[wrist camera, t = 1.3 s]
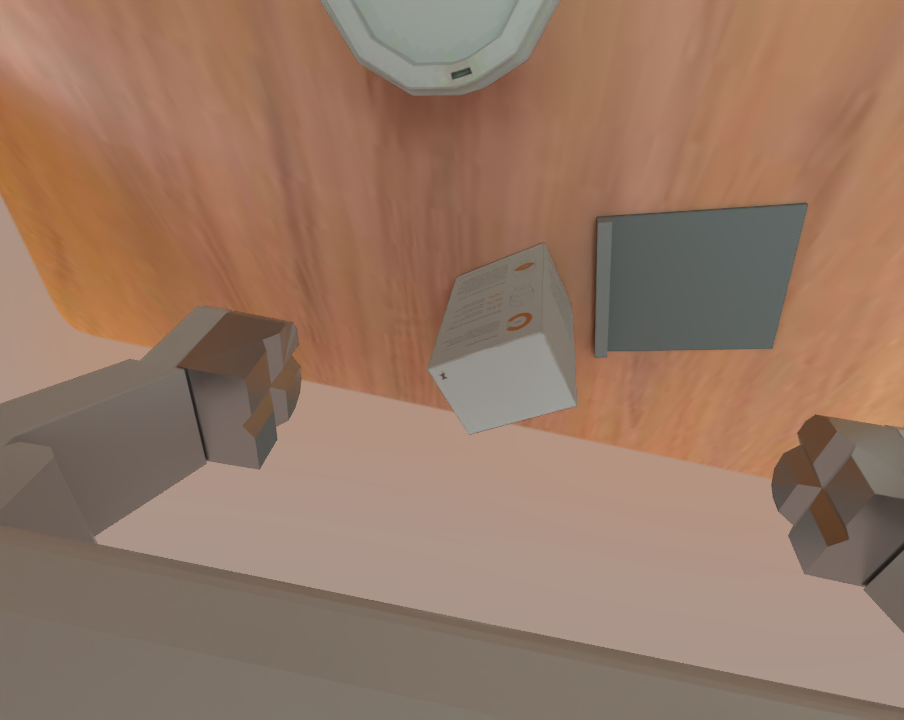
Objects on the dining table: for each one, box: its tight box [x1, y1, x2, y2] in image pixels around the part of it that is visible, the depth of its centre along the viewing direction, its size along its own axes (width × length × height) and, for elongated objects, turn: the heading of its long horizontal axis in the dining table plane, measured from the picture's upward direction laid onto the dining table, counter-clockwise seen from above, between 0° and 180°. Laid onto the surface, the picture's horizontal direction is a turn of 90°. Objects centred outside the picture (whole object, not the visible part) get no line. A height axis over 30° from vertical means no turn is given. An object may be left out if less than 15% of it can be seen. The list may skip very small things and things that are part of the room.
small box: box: [427, 243, 577, 435], centre depth 40 cm, size 8×6×13 cm
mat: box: [594, 203, 808, 358], centre depth 42 cm, size 14×12×1 cm
